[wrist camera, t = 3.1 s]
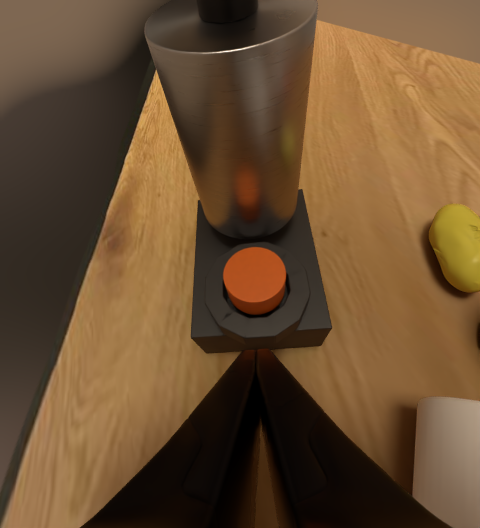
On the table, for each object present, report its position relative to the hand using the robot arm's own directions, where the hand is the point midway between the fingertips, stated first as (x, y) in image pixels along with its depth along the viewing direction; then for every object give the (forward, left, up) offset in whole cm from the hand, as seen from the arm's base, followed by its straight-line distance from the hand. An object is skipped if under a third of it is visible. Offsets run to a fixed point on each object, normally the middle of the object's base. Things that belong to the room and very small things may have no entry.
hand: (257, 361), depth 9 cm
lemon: (+18, -9, -13) cm, 23 cm away
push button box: (+8, +5, -13) cm, 16 cm away
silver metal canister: (+11, +7, -6) cm, 14 cm away
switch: (+5, +3, -7) cm, 9 cm away
